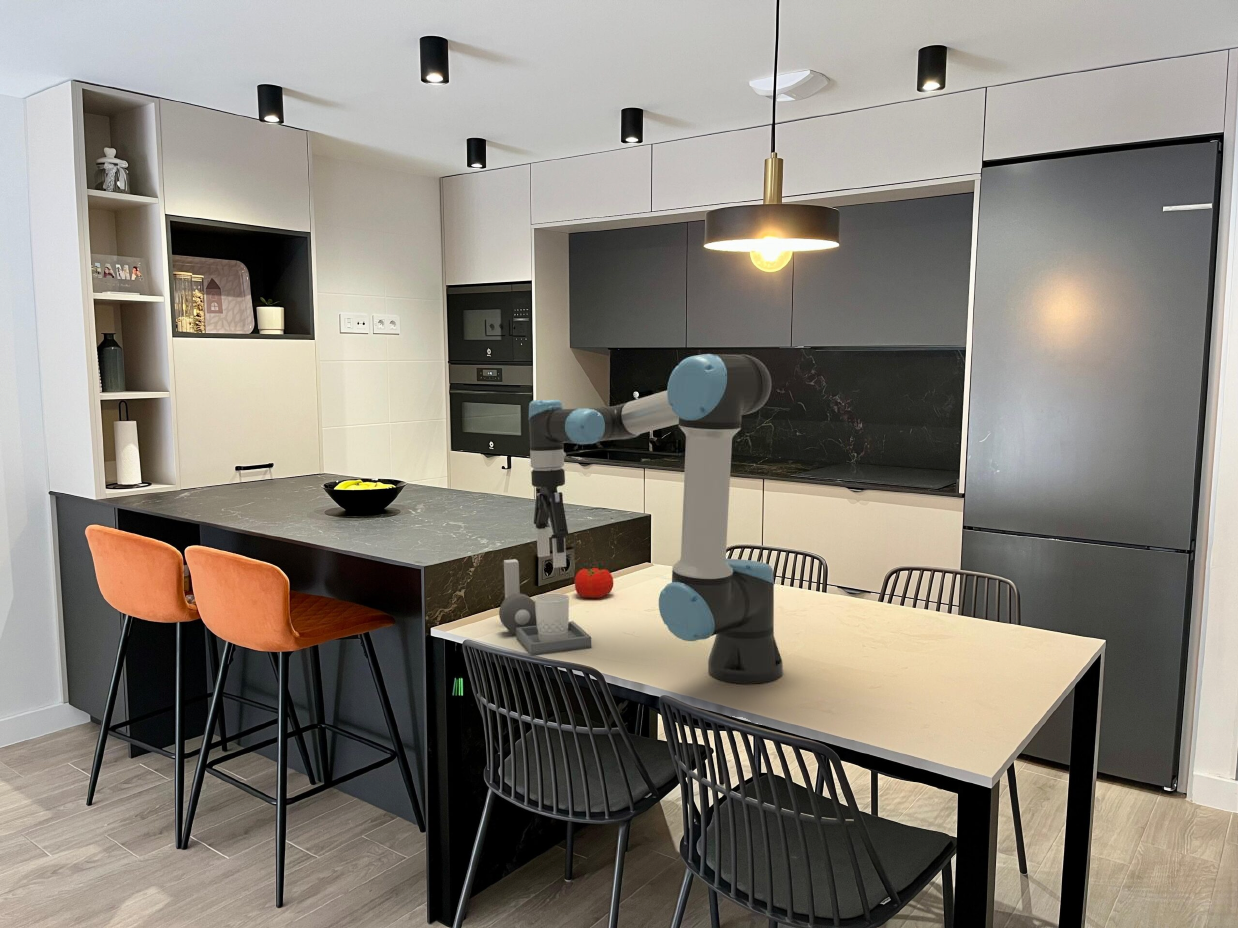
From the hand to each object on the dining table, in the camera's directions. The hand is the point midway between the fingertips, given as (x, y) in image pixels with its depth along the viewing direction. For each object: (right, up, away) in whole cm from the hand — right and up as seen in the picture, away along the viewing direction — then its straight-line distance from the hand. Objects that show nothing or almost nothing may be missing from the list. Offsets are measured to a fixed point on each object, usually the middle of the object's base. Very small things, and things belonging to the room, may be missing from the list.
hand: (551, 561), depth 206 cm
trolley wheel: (-9, -18, +14) cm, 25 cm away
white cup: (0, -19, +3) cm, 19 cm away
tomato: (+8, -15, +44) cm, 47 cm away
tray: (0, -19, +2) cm, 19 cm away
